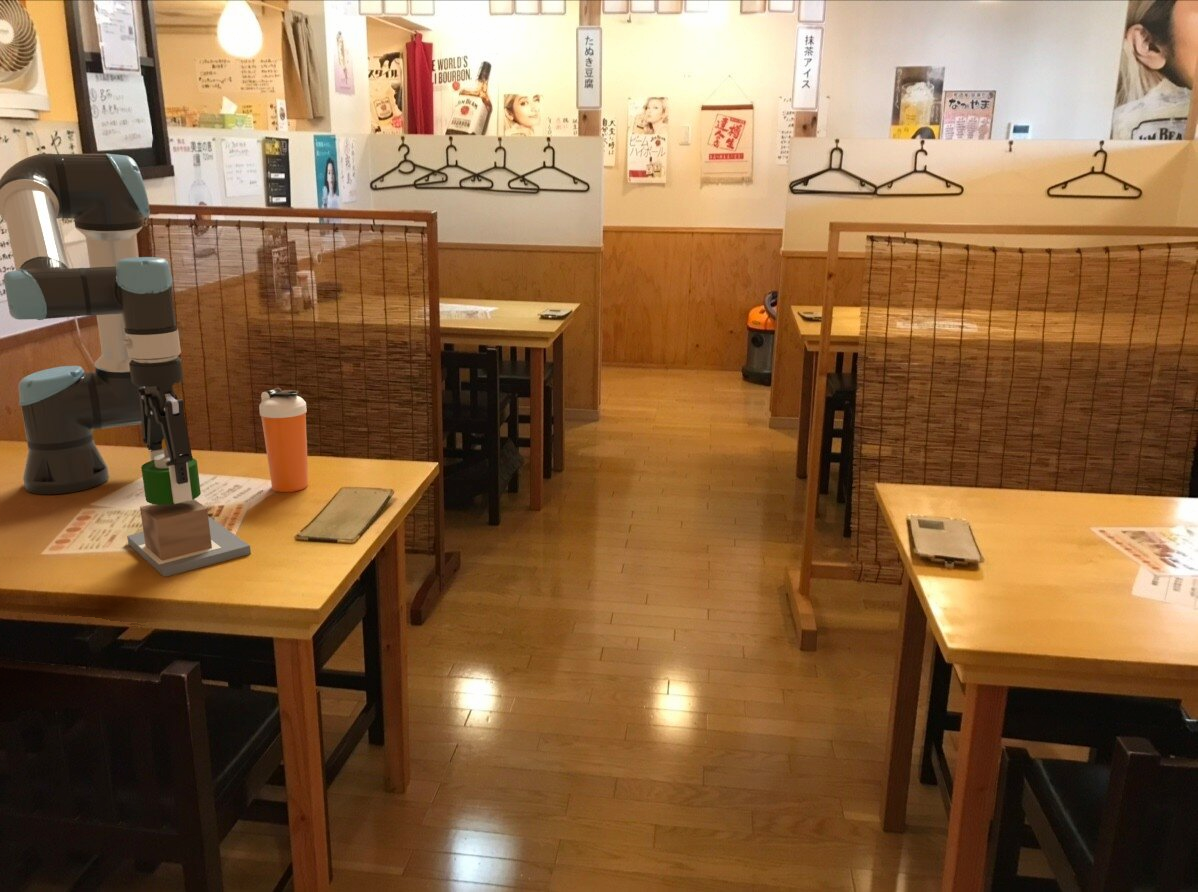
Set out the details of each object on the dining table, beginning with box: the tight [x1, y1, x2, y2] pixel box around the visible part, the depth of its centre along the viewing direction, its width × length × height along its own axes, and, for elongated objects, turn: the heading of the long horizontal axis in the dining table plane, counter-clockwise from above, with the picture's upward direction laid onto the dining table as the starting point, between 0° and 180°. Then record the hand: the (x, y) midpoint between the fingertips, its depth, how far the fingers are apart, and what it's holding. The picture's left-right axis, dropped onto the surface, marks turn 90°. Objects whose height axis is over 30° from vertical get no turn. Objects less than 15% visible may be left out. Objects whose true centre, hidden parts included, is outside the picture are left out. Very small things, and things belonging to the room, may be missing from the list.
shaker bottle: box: [258, 387, 309, 493], centre depth 187 cm, size 9×9×20 cm
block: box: [139, 498, 212, 561], centre depth 155 cm, size 8×8×7 cm
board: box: [127, 516, 252, 578], centre depth 159 cm, size 18×14×2 cm
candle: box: [141, 439, 202, 505], centre depth 152 cm, size 8×8×10 cm
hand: (172, 494), depth 153 cm, fingers closed on candle, 8 cm apart
